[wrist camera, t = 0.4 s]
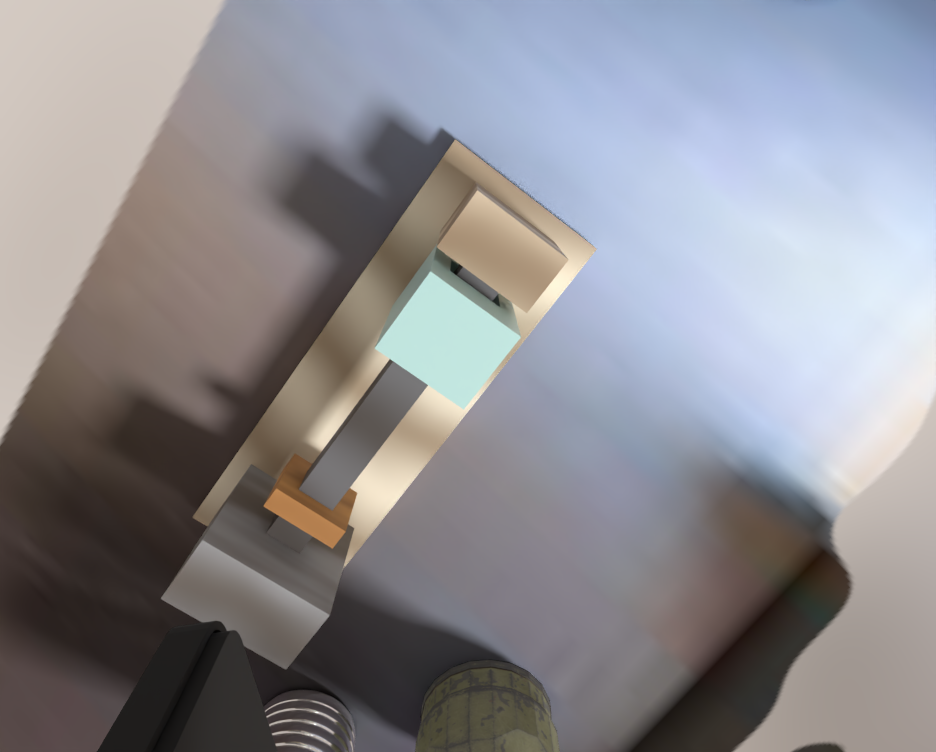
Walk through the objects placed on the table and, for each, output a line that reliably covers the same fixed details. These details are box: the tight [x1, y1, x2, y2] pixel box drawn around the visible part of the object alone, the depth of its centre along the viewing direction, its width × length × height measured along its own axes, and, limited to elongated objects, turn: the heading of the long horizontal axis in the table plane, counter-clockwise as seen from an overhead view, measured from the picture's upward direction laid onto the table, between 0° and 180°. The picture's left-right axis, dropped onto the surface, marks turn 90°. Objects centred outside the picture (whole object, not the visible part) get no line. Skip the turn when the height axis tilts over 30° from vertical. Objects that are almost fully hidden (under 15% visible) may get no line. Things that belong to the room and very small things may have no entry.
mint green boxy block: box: [375, 245, 521, 409], centre depth 33 cm, size 4×5×8 cm
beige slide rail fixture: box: [161, 139, 596, 670], centre depth 36 cm, size 26×9×9 cm, turn 144°
